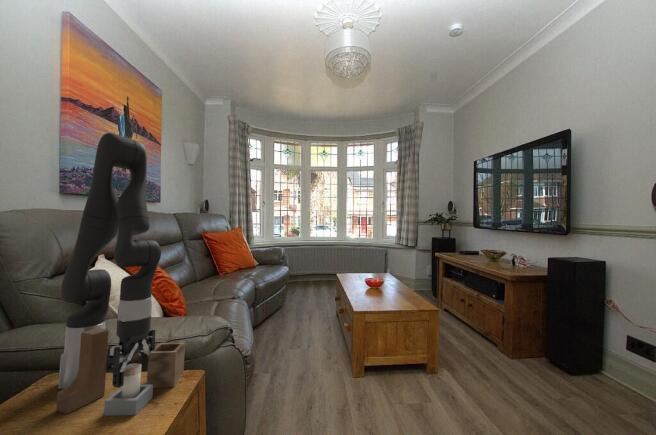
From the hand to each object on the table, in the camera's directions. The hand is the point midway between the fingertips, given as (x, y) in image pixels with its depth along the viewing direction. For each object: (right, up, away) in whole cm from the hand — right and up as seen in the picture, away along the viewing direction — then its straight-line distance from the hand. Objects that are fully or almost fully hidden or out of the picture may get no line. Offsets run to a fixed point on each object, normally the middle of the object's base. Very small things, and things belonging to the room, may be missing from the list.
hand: (131, 378), depth 75 cm
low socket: (0, -7, 0) cm, 7 cm away
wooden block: (-14, -7, +1) cm, 15 cm away
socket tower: (+2, -8, +12) cm, 15 cm away
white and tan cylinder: (0, -6, 0) cm, 6 cm away
